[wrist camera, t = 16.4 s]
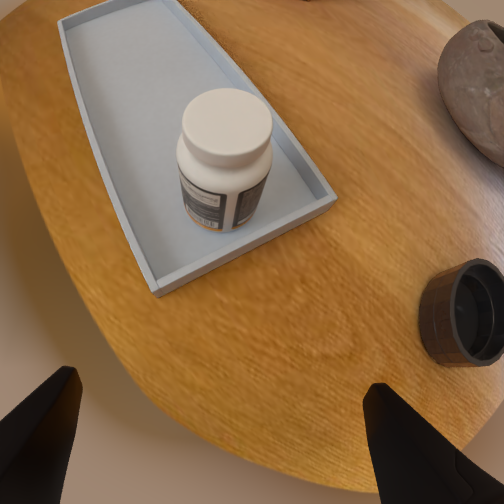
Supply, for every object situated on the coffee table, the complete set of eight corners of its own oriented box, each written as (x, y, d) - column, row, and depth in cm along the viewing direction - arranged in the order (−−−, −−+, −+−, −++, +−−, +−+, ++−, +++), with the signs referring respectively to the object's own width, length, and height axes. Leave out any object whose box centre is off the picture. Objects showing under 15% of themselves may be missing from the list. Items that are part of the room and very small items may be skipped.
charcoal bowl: (442, 387, 23) (476, 388, 19) (400, 304, 25) (433, 294, 20) (492, 329, 25) (523, 323, 21) (457, 255, 27) (487, 241, 23)
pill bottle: (242, 162, 26) (261, 74, 16) (267, 223, 25) (302, 149, 15) (175, 180, 25) (162, 92, 15) (195, 245, 23) (188, 176, 14)
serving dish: (157, 298, 22) (151, 292, 20) (61, 33, 30) (57, 21, 27) (328, 210, 26) (338, 197, 24) (161, -3, 34) (160, -15, 31)
